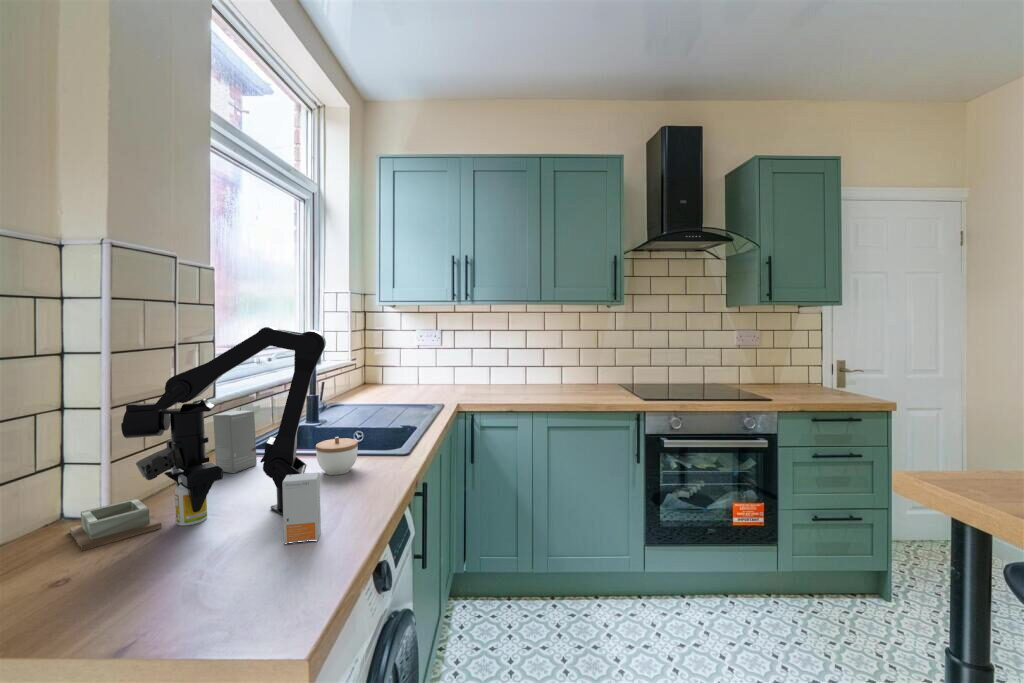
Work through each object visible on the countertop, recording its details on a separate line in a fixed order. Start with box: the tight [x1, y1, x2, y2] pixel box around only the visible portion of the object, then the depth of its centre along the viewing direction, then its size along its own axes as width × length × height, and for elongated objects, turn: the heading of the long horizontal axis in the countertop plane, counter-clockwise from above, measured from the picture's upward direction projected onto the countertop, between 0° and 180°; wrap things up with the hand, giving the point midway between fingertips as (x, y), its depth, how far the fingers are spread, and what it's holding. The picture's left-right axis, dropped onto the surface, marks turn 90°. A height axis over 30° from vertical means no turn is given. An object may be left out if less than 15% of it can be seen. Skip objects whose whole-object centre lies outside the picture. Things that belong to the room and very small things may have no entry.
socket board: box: [69, 498, 163, 551], centre depth 95 cm, size 12×12×4 cm
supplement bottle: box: [174, 475, 208, 527], centre depth 99 cm, size 5×5×10 cm
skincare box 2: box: [282, 472, 322, 544], centre depth 91 cm, size 6×4×12 cm
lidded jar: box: [315, 436, 359, 476], centre depth 130 cm, size 11×11×9 cm
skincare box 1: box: [212, 410, 258, 474], centre depth 134 cm, size 8×7×16 cm
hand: (191, 508), depth 99 cm, fingers closed on supplement bottle, 5 cm apart
